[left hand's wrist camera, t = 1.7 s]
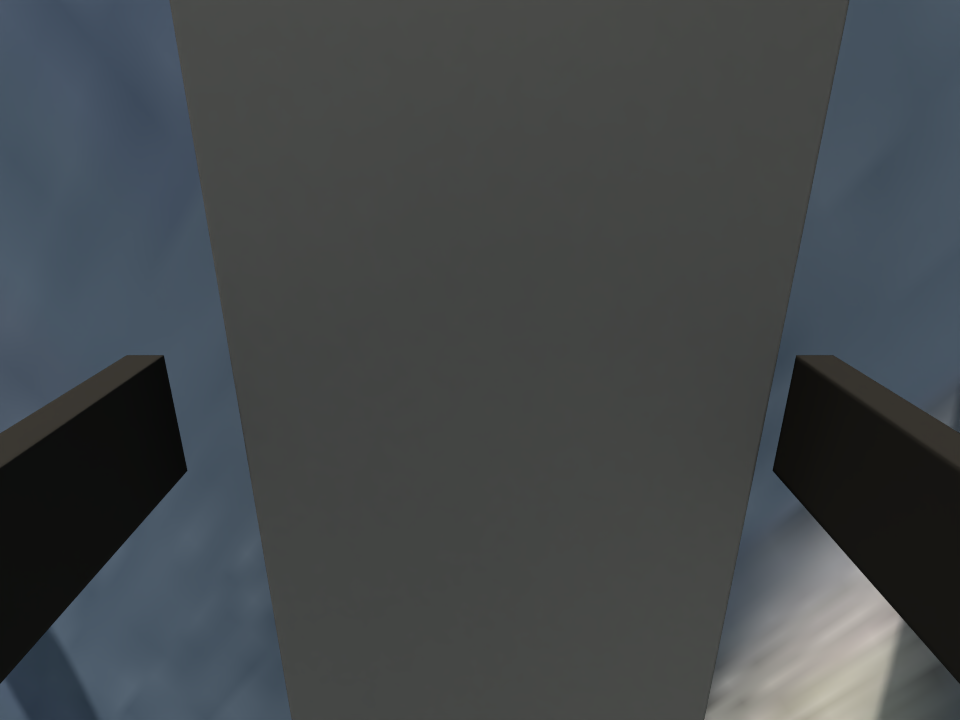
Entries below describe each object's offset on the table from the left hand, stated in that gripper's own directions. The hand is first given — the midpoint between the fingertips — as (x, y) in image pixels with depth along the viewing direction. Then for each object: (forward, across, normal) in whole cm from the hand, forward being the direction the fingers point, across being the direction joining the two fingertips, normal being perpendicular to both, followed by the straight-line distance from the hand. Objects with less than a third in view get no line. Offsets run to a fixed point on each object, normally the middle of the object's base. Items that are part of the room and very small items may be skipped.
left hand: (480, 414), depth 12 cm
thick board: (+5, 0, -28) cm, 28 cm away
